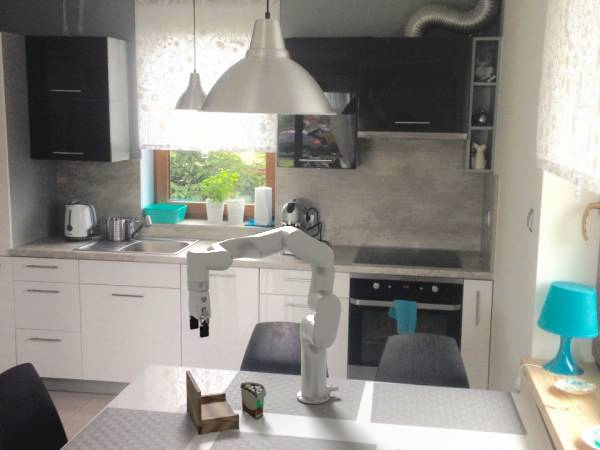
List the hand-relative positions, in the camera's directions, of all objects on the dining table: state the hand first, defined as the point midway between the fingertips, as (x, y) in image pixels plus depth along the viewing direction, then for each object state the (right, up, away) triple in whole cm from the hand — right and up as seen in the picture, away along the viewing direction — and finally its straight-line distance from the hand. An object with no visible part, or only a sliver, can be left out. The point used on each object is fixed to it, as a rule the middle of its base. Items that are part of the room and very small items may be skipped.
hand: (199, 332), depth 248 cm
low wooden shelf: (+4, -30, +1) cm, 31 cm away
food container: (+19, -30, +6) cm, 36 cm away
